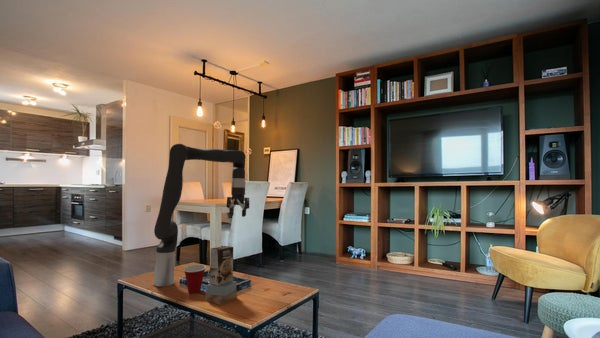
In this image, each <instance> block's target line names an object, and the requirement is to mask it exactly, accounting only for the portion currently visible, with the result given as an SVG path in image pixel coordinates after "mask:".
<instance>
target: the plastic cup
mask: <svg viewBox="0 0 600 338" xmlns="http://www.w3.org/2000/svg"><path fill="white" fill-rule="evenodd" d="M206 268H207V266H206V265H205V264H199V263H198V264H191V265H187V266H185V267H184V268H183V269H182V270H183V271H184V275H185V280H186V286H187V292H188V293H189V294H197V293H200V292H201V289H202V284H203V282H204V281H203V280H204V275H205V270H206Z"/></svg>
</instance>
